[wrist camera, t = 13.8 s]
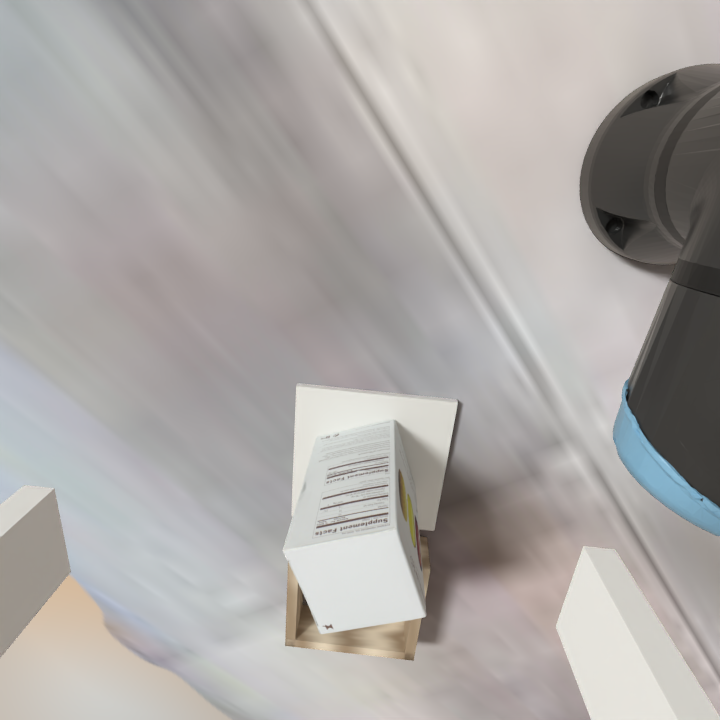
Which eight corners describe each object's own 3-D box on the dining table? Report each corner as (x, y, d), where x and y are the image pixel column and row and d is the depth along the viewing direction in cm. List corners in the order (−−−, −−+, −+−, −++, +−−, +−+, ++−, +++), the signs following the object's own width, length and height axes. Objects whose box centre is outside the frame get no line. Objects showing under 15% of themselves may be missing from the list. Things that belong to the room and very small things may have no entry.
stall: (426, 537, 55) (430, 570, 50) (411, 623, 60) (413, 660, 55) (296, 523, 55) (288, 554, 50) (293, 610, 60) (285, 645, 56)
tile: (456, 399, 48) (457, 402, 47) (433, 526, 54) (434, 531, 53) (297, 383, 48) (296, 386, 47) (292, 511, 54) (291, 515, 54)
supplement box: (417, 488, 51) (430, 622, 35) (340, 504, 52) (320, 640, 37) (394, 415, 48) (398, 528, 32) (313, 435, 49) (279, 552, 34)
